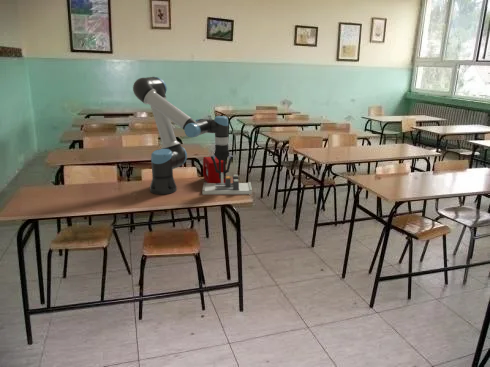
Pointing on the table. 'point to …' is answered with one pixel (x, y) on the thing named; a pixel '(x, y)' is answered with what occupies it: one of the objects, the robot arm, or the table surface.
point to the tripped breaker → (227, 181)
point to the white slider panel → (227, 188)
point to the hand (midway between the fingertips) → (222, 183)
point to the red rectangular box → (212, 170)
